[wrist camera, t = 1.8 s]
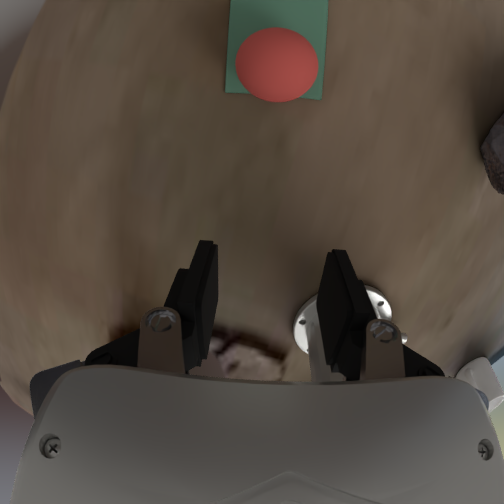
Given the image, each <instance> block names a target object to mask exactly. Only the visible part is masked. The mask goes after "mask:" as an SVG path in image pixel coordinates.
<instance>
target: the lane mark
mask: <svg viewBox="0 0 504 504" xmlns="http://www.w3.org/2000/svg"><path fill="white" fill-rule="evenodd" d="M327 17H328V0H231V4H230V17H229V32H228V48H227V66H226V86H225V93H250V92H249V91H248V90H247V89H246V88H245V87H244V86H243V85H242V83H241V82H240V80H239V78H238V75H237V72H236V66H235V61H236V55H237V52H238V50H239V48H240V46H241V44H242V43H243V42H244V41H245V40H246V39H247V38H248V37H249V36H250V35H252V34H253V33H255V32H257V31H259V30H262V29H266V28H273V27H279V28H286V29H290V30H293V31H295V32H297V33H299V34H300V35H302V36H303V37H304V38H306V39H307V40H308V41H309V42H310V44H311V45H312V46H313V48H314V50H315V52H316V55H317V59H318V73H317V77H316V80H315V82H314V83H313V85H312V86H311V88H310V89H309V90H308V91H307V92H306V93H304V94H303V95H301V96H300V98H308V99H316V100H321V97H322V87H323V75H324V63H325V50H326V34H327Z"/></svg>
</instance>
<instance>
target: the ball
mask: <svg viewBox="0 0 504 504" xmlns="http://www.w3.org/2000/svg"><path fill="white" fill-rule="evenodd" d="M235 66H236V72H237V75H238V78H239V80H240V82H241V83H242V85H243V86H244V87H245V88H246V89H247V90H248V91H249V92H250V93H251V94H253V95H254V96H256V97H258V98H260V99H263V100H266V101H270V102H285V101H290V100H293V99H296V98H298V97H300V96H301V95H303V94H304V93H306V92H307V91H308V90H309V89H310V88H311V86H312V85H313V83H314V82H315V80H316V77H317V73H318V59H317V55H316V52H315V50H314V48H313V46H312V45H311V44H310V42H309V41H308V40H307V39H306V38H304V37H303V36H302V35H300V34H299V33H297V32H295V31H293V30H290V29H286V28H279V27H273V28H266V29H262V30H259V31H257V32H255V33H253V34H252V35H250V36H249V37H248V38H247V39H246V40H245V41H244V42H243V43H242V44H241V46H240V48H239V50H238V52H237V55H236V61H235Z"/></svg>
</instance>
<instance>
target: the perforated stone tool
mask: <svg viewBox="0 0 504 504" xmlns="http://www.w3.org/2000/svg"><path fill="white" fill-rule="evenodd" d="M480 149H481V152H482V155H483V159H484V165H485V170H486V172H487V174H488V178H489V180H490V182H491V185H492V186H493V188H494V189H496V191H498V193H501V194H504V113H503V115H502V116H501V117H500V118H499V119H498V121H497V122H496V123H495V124H494V126H493V127H492V128H491V130H490V131H489V134H488V136H487V137H486V139H485V140H484V143H483V144H482V145H481V148H480Z"/></svg>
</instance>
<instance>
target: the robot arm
mask: <svg viewBox="0 0 504 504" xmlns="http://www.w3.org/2000/svg"><path fill="white" fill-rule="evenodd" d="M217 302H218V245H216V244H213V241H206V240H200V241H199V243H198V246H197V249H196V251H195V254H194V257H193V259H192V262H191V265H190V268H189V269H181V268H180V269H179V270H178V272H177V274H176V277H175V279H174V282H173V284H172V286H171V289H170V291H169V294H168V297H167V299H166V302H165V304H164V307H156V308H153V309H151V310H149V311H147V312H146V313H145V314H144V315H143V317H142V319H141V324H140V329H138V330H136V331H133V332H131V333H129V334H127V335H125V336H123V337H121V338H119V339H116V340H114V341H112V342H110V343H108V344H106V345H104V346H101V347H99V348H97V349H95V350H94V351H92V352H91V353H90V354H89V355H88V356H87V358H86V360H85V361H83V362H80V360H76V361H73V362H70V363H66V364H63V365H60V366H57V367H54V368H50V369H47V370H44V371H41V372H39V373H37V374H35V375H34V376H33V377H32V379H31V381H30V395H31V402H32V408H33V414H34V419H35V420H34V423H33V425H32V428H31V430H30V433H29V436H28V439H27V441H26V444H25V447H24V450H23V453H22V456H21V460H20V463H19V466H18V469H17V473H16V477H15V482H14V486H13V490H12V495H11V500H10V504H504V460H503V456H502V452H501V448H500V445H499V441H498V438H497V435H496V432H495V429H494V426H493V423H492V421H491V418H490V415H489V413H488V409H489V401H488V398H487V396H486V395H485V394H484V393H483V392H482V391H480V390H478V389H476V388H474V387H473V386H472V385H470V384H469V383H467V382H465V381H462V380H459V379H455V378H452V377H450V376H449V377H445V375H444V373H443V371H442V370H441V368H440V367H438V366H437V365H436V364H434V363H432V362H431V361H429V360H428V359H426V358H424V357H423V356H421V355H419V354H418V353H416V352H415V351H413V350H411V349H410V348H408V347H407V346H405V345H403V344H402V343H405V342H406V341H407V334H406V333H401V332H400V330H399V328H398V327H397V326H396V325H395V324H394V323H392V322H391V319H392V311H391V307H390V304H389V302H388V300H387V298H386V297H385V296H384V295H383V293H381V292H380V291H379V290H377V289H375V288H373V287H371V286H367V285H364V283H363V281H362V280H358V279H357V276H356V274H355V271H354V269H353V266H352V264H351V261H350V259H349V257H348V254H347V252H346V250H337V249H333V250H332V252H328V254H327V257H326V262H325V266H324V270H323V275H322V279H321V283H320V287H319V292H318V294H317V295H315V296H313V297H312V298H310V299H309V300H308V301H307V302H306V303H305V304H304V305H303V306H302V307H301V308H300V310H299V311H298V313H297V315H296V317H295V319H294V323H293V333H294V339H295V341H296V343H297V345H298V346H299V347H300V348H301V349H302V350H303V351H304V352H306V353H307V354H309V361H310V370H311V379H312V382H288V381H260V380H243V379H229V378H218V377H207V376H197V375H190V373H189V370H190V369H192V368H194V367H195V366H199V367H200V366H201V362H202V359H207V355H208V350H209V344H210V339H211V334H212V328H213V323H214V318H215V313H216V307H217Z"/></svg>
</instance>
